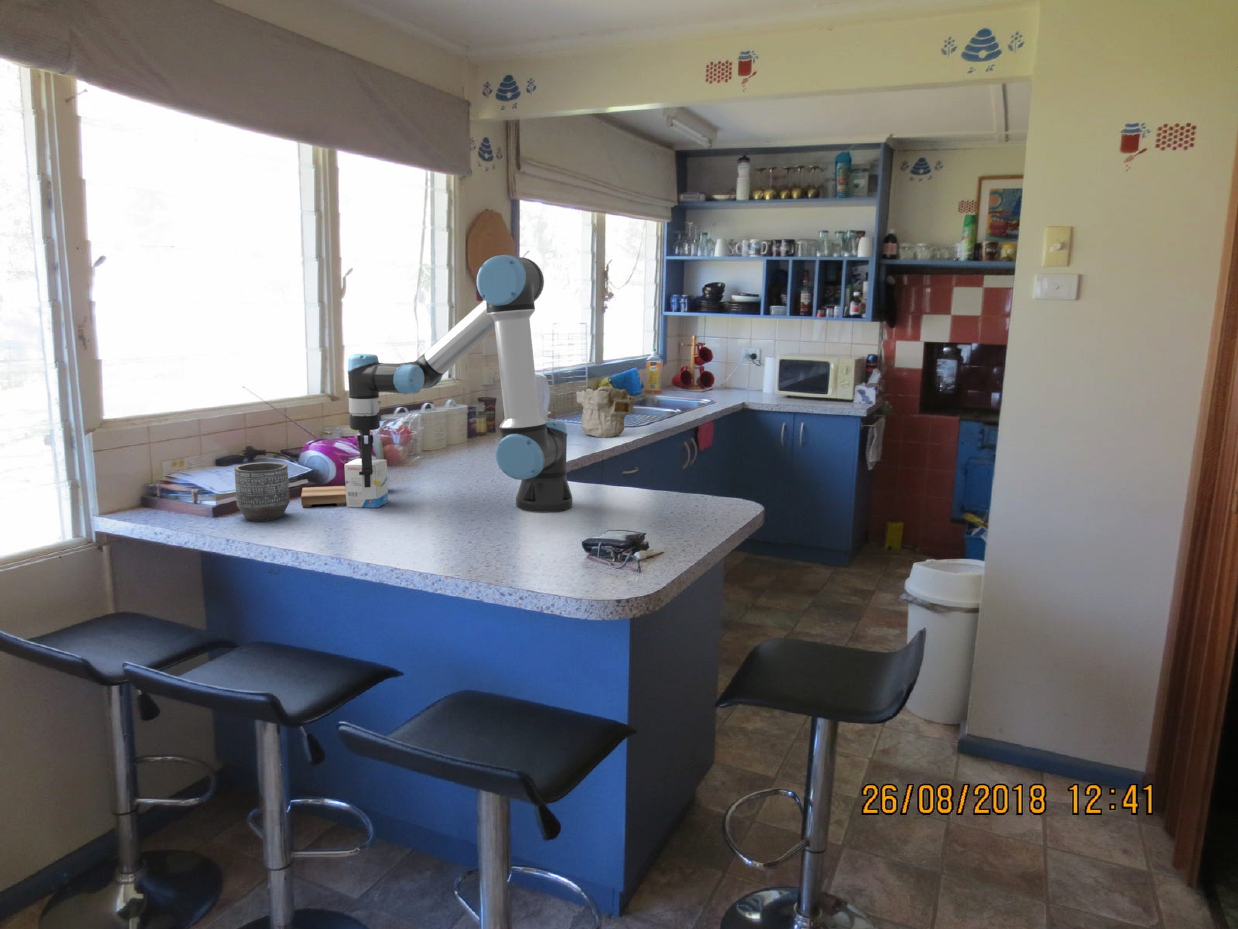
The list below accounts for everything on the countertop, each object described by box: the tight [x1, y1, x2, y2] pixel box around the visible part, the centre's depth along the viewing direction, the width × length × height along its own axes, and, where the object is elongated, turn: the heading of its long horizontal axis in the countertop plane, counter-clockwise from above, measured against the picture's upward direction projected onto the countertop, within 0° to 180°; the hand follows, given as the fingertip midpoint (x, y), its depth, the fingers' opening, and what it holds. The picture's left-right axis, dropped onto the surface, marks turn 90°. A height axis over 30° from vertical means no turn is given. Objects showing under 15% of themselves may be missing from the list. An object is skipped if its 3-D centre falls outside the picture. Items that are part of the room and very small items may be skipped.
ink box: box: [344, 457, 389, 509], centre depth 228 cm, size 9×8×12 cm
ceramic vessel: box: [576, 385, 636, 439], centre depth 353 cm, size 23×24×25 cm
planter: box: [234, 461, 290, 522], centre depth 213 cm, size 12×12×13 cm
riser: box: [300, 485, 347, 508], centre depth 230 cm, size 11×11×3 cm
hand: (366, 493), depth 228 cm, fingers open, 13 cm apart
